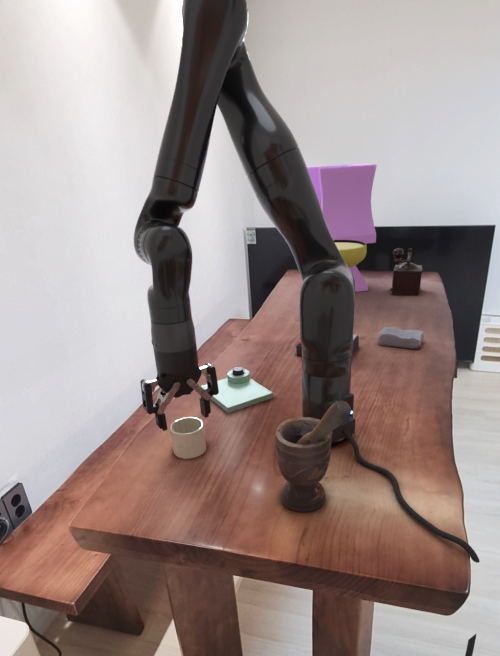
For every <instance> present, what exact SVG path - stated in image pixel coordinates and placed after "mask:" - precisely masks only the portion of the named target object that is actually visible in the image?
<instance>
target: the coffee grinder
mask: <svg viewBox="0 0 500 656" xmlns="http://www.w3.org/2000/svg"><path fill="white" fill-rule="evenodd" d="M404 251H405V250H404V249H403V248H401V247H397V248H395V249H393V250H392V255H393V257H394V258H393V261H394V263H398V264H395V265H394V268H393V270H392V271H393V272H392V281H391V287H390V289H389V291H390V294H391V295H392V296H401V297H406V296H407V297H419V296H420V290H421V284H422V283H421V282H422V273H423V265H422V264H421V265H420V264H416V263H413V262H411V258H412V255H413V254H412V253H413V248H412V247H409V248H408V252H407V258H406V259H403V258H402V257H403V255H404V254H405V252H404Z"/></svg>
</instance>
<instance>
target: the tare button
mask: <svg viewBox="0 0 500 656" xmlns="http://www.w3.org/2000/svg"><path fill="white" fill-rule="evenodd" d="M243 369H244V367H242V366H235V367H233V368H232V370H233V375H234V376H241V375H243V374H244V373H243Z"/></svg>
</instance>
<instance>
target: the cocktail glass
mask: <svg viewBox="0 0 500 656" xmlns="http://www.w3.org/2000/svg"><path fill="white" fill-rule="evenodd" d="M334 242H335V244H336V246H337V248H338V250H339V252H340V254H341V255H342V257H343V259H344V261H345V262H346V264H347V266H348V268H351V267H353V266H355V265H356V266H357V265H358V264H360V263H361V262H362V261H363V260H364V259H365V258H366V256H367V249H368V247H367V243H364V242H361V241H355V240H334Z"/></svg>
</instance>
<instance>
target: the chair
mask: <svg viewBox="0 0 500 656" xmlns="http://www.w3.org/2000/svg"><path fill="white" fill-rule="evenodd" d="M377 167H378V166H377V164H375V163H374V164H373V163H353V164H337V165H321V166H307V168H308V171H309V174H310V177H311V179H312V182H313V185H314V187H315V190H316V193H317V196H318V199H319V202H320V206H321V209H322V213H323V216H324V219H325V222H326V225H327V228H328V230H329V232H330V234H331V236H332V238H333V240H355V241H361V242H364V243H366V244H375V243H376V244H377V231H376V227H375V223H374V217H373V211H372V192H373V186H374V181H375V176H376V170H377ZM349 269H350V271H351V273H352V275H353V277H354V281H355V293H359V292H367V291H369V285H368V284H367V282H366V280H365V278H364V277H363V275H362V273H361V271H360V270H359V269H358V266H357V265H355V266H353V267H351V268H349Z"/></svg>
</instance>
